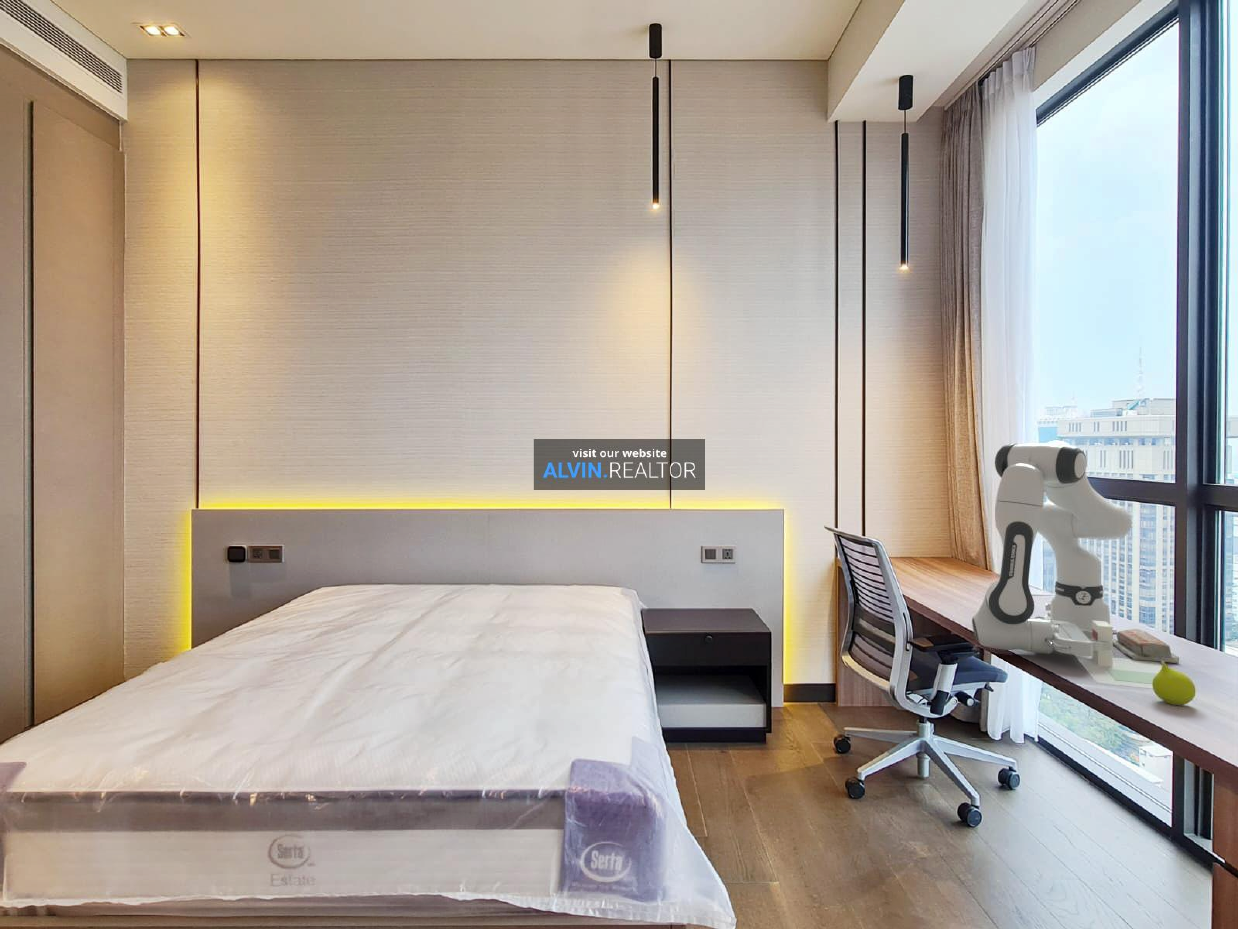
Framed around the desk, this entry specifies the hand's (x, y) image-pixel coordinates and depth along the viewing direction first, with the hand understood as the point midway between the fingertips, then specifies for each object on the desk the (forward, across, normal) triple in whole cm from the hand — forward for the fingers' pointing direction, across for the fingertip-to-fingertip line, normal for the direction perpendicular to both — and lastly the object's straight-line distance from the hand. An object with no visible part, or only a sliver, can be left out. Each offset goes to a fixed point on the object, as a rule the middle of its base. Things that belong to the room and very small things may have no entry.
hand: (1106, 641), depth 168 cm
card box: (-1, 0, +6) cm, 6 cm away
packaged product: (+11, +14, +6) cm, 19 cm away
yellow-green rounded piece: (+6, -26, +6) cm, 28 cm away
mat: (+3, -6, +6) cm, 9 cm away
